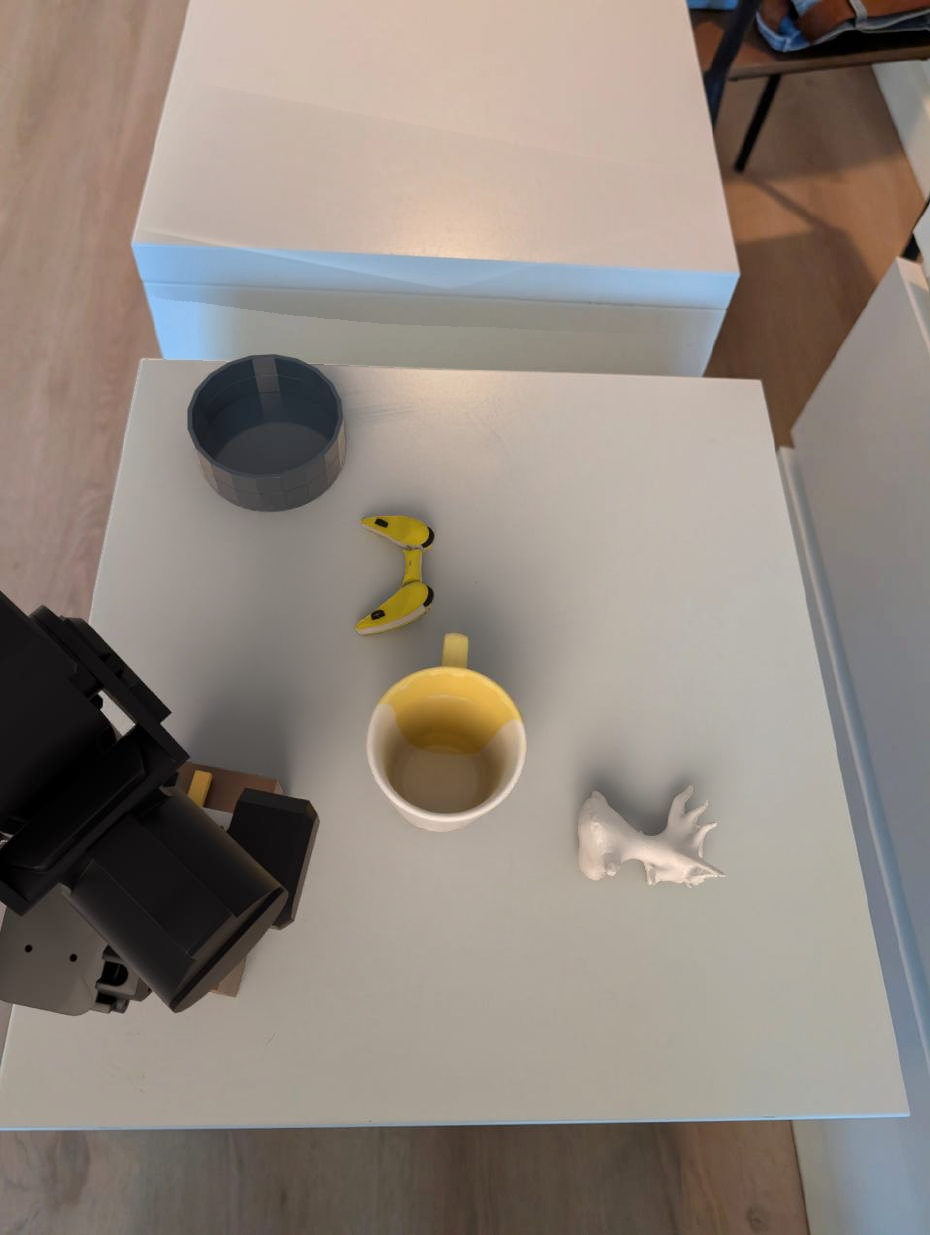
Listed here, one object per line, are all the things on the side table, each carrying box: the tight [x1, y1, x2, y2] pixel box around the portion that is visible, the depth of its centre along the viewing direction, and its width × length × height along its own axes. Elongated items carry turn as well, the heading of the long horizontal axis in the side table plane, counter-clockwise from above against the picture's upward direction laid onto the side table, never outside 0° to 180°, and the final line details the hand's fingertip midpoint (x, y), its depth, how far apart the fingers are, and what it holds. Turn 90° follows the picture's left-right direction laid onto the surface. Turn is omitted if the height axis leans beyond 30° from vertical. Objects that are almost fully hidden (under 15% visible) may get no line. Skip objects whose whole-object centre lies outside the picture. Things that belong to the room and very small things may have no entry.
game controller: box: [354, 515, 436, 636], centre depth 73 cm, size 10×6×4 cm, turn 0°
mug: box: [365, 632, 528, 833], centre depth 63 cm, size 14×10×10 cm
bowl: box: [186, 353, 347, 513], centre depth 76 cm, size 12×12×5 cm
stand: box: [176, 760, 284, 998], centre depth 60 cm, size 9×13×7 cm
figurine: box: [577, 784, 727, 889], centre depth 64 cm, size 10×8×10 cm
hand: (161, 860), depth 53 cm, fingers open, 9 cm apart
